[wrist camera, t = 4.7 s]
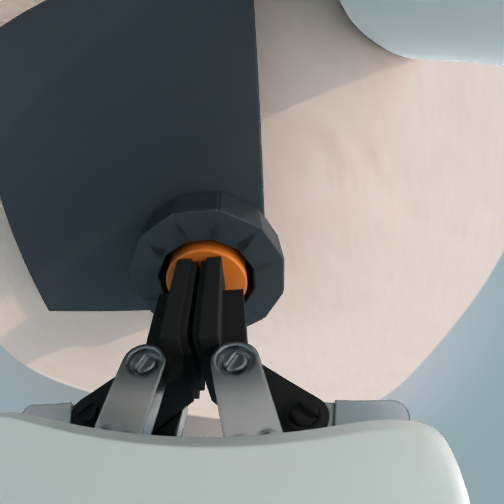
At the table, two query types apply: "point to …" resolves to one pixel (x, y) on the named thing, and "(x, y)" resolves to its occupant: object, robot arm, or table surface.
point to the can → (434, 28)
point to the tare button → (210, 248)
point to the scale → (133, 147)
